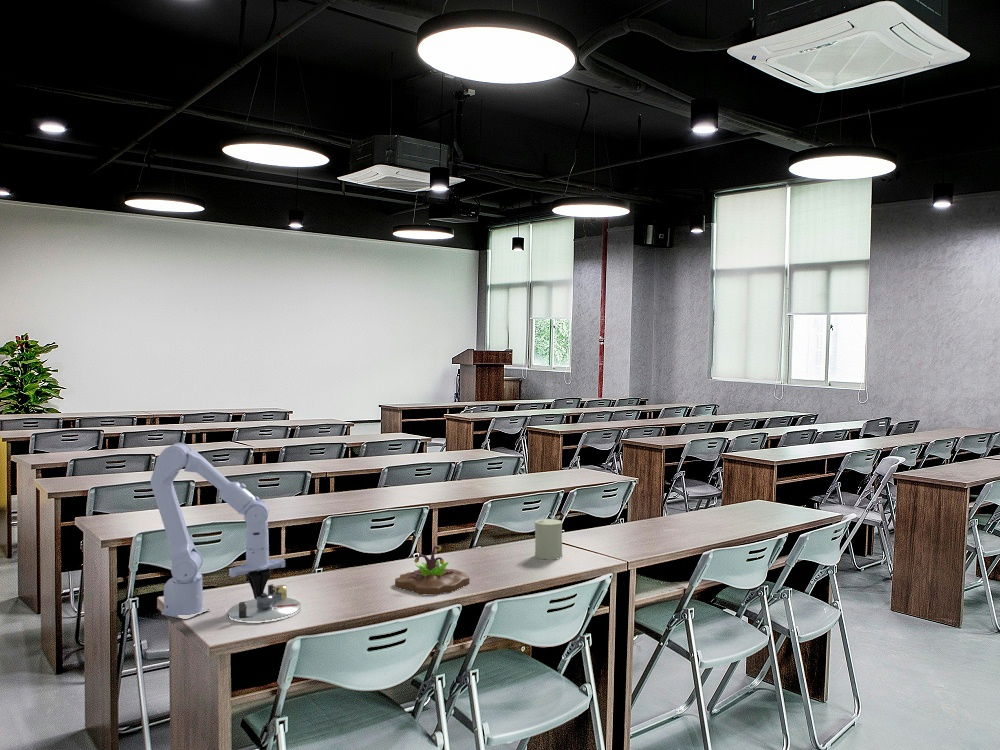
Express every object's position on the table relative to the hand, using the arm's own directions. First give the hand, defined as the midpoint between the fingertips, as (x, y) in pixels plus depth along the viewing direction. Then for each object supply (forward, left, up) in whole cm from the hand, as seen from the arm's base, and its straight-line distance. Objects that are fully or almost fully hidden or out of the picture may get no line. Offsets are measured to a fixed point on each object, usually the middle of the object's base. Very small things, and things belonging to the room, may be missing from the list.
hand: (258, 598), depth 200 cm
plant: (+30, +39, -3) cm, 49 cm away
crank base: (+4, -2, -2) cm, 5 cm away
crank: (+3, +2, -1) cm, 4 cm away
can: (+47, +82, -3) cm, 95 cm away
